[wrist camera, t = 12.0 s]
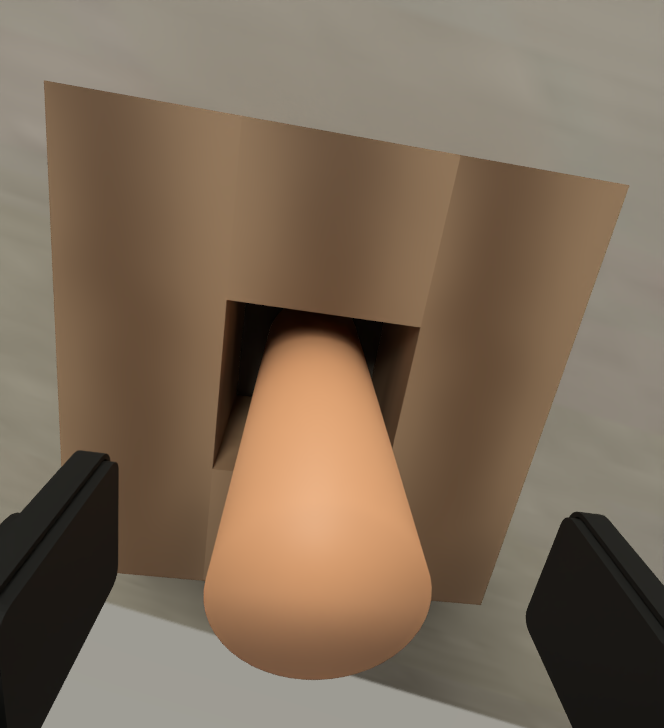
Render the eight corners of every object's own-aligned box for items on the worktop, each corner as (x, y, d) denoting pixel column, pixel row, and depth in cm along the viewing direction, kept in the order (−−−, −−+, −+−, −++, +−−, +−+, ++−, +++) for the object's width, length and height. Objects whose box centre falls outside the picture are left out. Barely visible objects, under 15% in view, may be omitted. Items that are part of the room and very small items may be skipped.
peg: (365, 305, 21) (456, 520, 8) (350, 389, 23) (405, 686, 10) (273, 291, 21) (212, 494, 8) (263, 378, 22) (196, 671, 9)
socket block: (538, 181, 20) (629, 185, 14) (442, 509, 25) (480, 605, 20) (126, 108, 18) (43, 80, 12) (123, 475, 24) (65, 568, 18)
